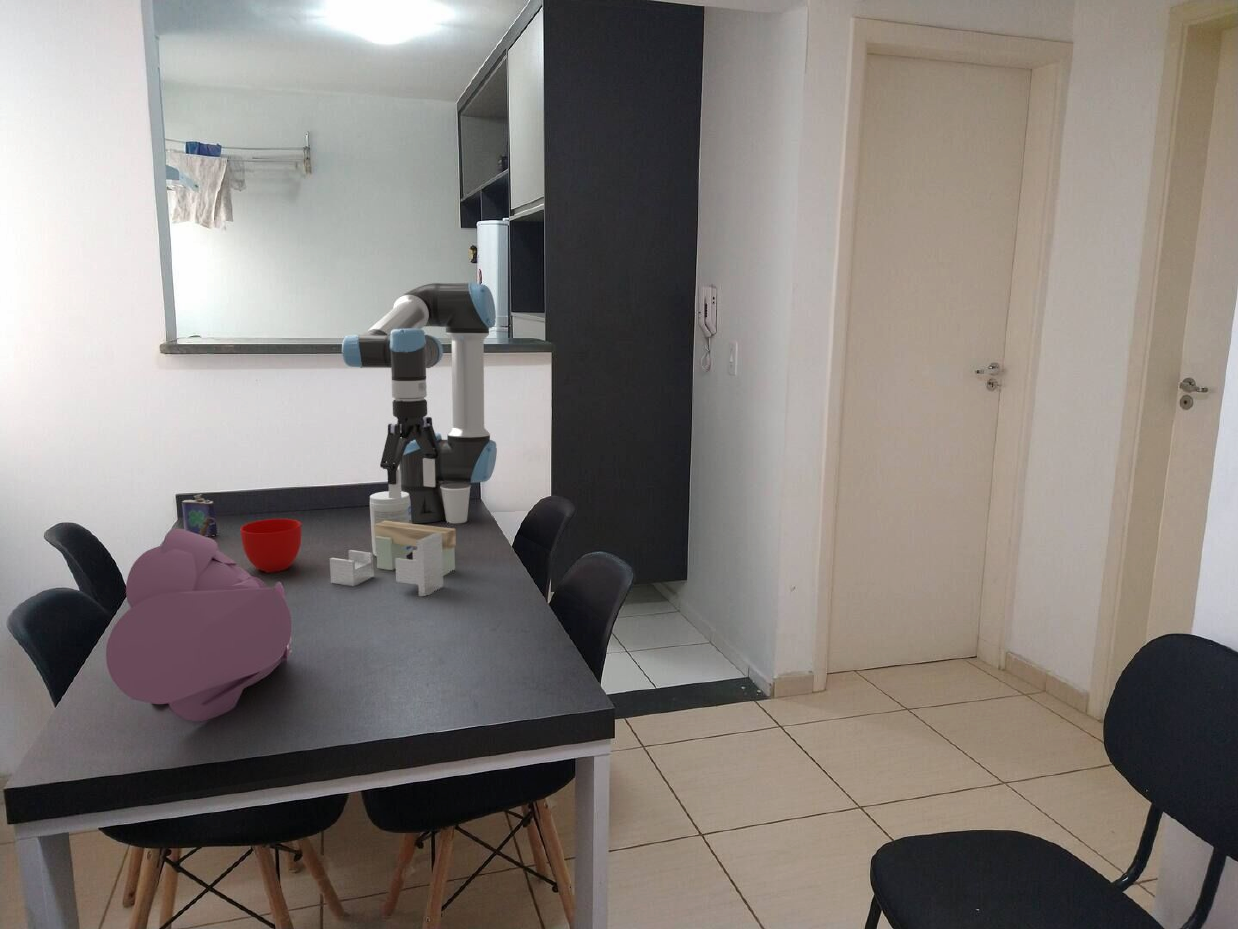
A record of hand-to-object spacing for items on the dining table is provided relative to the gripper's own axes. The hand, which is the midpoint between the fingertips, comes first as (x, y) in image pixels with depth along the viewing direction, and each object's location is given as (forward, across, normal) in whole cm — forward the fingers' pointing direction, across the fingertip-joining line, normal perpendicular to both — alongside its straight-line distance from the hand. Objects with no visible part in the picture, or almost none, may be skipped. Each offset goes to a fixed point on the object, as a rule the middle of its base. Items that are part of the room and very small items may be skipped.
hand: (412, 492), depth 204 cm
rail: (+12, 0, 0) cm, 12 cm away
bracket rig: (+18, -12, 0) cm, 22 cm away
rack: (+18, 0, 0) cm, 18 cm away
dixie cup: (+18, +41, +14) cm, 47 cm away
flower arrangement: (+19, -65, -5) cm, 68 cm away
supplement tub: (+18, +8, +12) cm, 23 cm away
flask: (+18, +3, +67) cm, 70 cm away
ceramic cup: (+18, -10, +31) cm, 37 cm away
